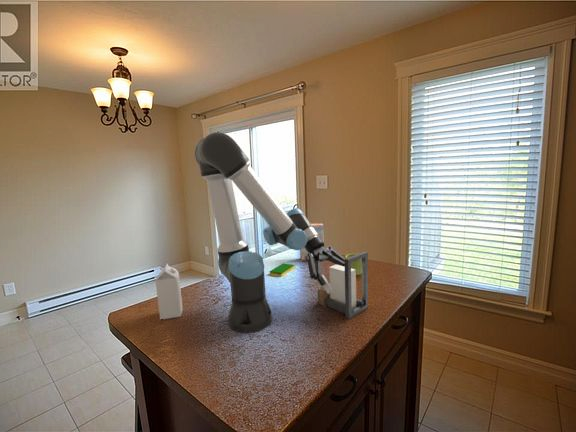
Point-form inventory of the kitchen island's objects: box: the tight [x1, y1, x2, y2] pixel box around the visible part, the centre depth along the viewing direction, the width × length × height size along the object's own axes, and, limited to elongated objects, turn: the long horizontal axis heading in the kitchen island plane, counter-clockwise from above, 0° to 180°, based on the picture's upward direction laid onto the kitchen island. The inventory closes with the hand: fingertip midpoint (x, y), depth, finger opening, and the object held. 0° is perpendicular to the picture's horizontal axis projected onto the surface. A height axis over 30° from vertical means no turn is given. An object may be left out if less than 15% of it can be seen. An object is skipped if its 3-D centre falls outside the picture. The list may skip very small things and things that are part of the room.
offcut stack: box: [317, 286, 330, 306], centre depth 110 cm, size 8×3×6 cm, turn 131°
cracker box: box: [299, 223, 325, 262], centre depth 163 cm, size 14×6×21 cm, turn 84°
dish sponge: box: [268, 263, 295, 278], centre depth 146 cm, size 7×14×2 cm, turn 150°
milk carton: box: [154, 262, 184, 321], centre depth 104 cm, size 7×7×19 cm
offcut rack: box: [326, 251, 369, 320], centre depth 102 cm, size 12×12×21 cm
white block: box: [328, 264, 357, 309], centre depth 104 cm, size 4×9×15 cm, turn 41°
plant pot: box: [345, 253, 362, 276], centre depth 138 cm, size 9×9×9 cm
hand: (342, 286), depth 104 cm, fingers open, 13 cm apart
